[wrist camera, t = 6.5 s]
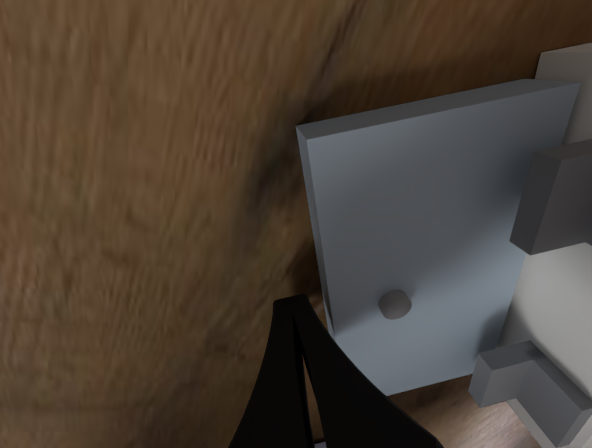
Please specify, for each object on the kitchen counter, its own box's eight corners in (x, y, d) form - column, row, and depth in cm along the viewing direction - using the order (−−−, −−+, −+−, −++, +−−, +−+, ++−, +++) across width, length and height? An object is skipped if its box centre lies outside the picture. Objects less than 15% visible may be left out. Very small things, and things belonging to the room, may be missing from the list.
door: (460, 332, 17) (495, 376, 15) (332, 364, 17) (347, 415, 15) (512, 78, 10) (595, 83, 8) (293, 122, 10) (309, 143, 7)
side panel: (498, 344, 18) (603, 460, 13) (431, 361, 17) (509, 487, 12) (597, 41, 9) (1020, 18, 4) (472, 66, 9) (759, 74, 4)
